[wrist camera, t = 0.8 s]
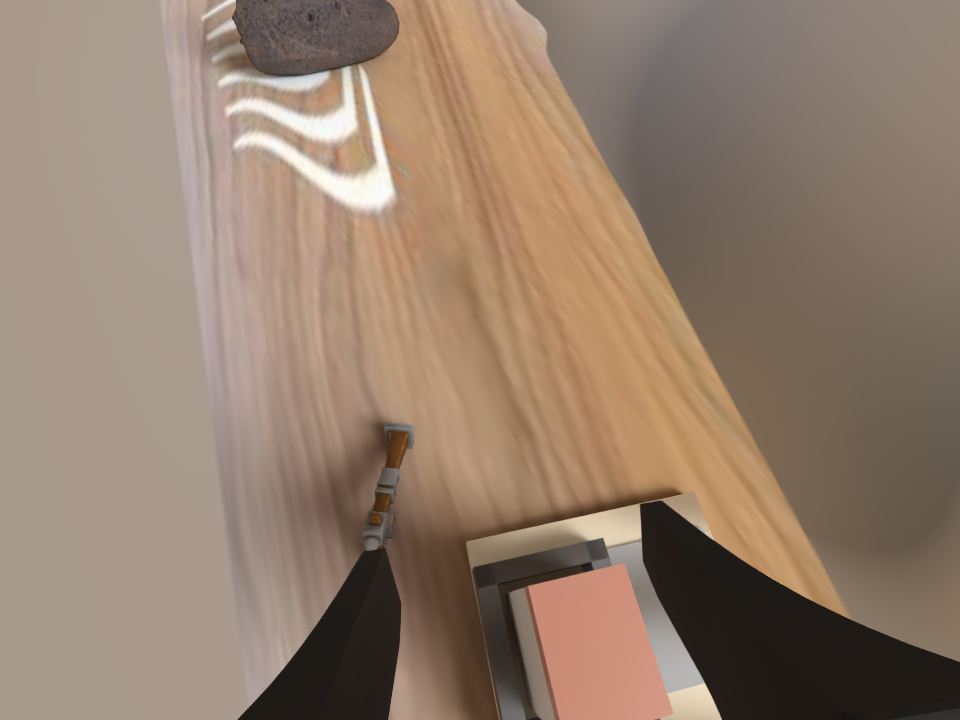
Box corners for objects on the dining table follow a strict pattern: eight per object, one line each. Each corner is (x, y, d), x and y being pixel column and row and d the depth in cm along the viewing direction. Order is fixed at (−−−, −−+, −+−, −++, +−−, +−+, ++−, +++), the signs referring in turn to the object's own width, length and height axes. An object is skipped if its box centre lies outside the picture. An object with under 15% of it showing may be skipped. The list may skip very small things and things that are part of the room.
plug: (605, 684, 24) (674, 714, 17) (528, 706, 23) (565, 746, 16) (575, 577, 26) (624, 563, 19) (504, 594, 25) (528, 586, 18)
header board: (772, 707, 25) (812, 718, 22) (511, 787, 22) (520, 810, 20) (686, 495, 30) (710, 483, 27) (465, 543, 27) (467, 536, 25)
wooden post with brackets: (356, 586, 25) (350, 539, 22) (386, 467, 32) (384, 419, 29) (390, 589, 25) (388, 542, 23) (413, 470, 32) (414, 422, 29)
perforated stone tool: (395, 40, 51) (388, -38, 45) (409, 69, 49) (404, -10, 42) (249, 59, 48) (220, -23, 41) (256, 91, 45) (227, 9, 39)
